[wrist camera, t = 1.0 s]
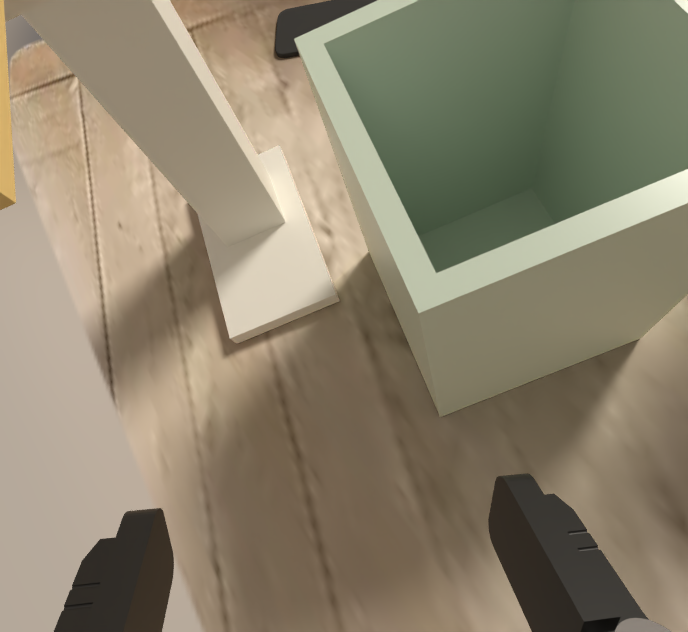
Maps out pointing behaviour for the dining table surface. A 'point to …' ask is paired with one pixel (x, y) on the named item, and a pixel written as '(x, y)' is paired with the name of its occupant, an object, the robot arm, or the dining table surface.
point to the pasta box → (5, 124)
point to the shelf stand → (195, 152)
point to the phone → (309, 21)
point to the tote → (512, 175)
